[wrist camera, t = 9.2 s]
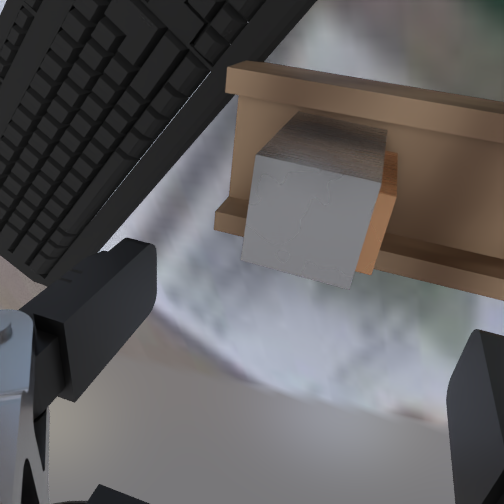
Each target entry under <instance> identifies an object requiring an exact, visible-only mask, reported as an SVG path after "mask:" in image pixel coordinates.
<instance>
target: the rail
mask: <svg viewBox="0 0 504 504" xmlns="http://www.w3.org/2000/svg"><path fill="white" fill-rule="evenodd" d="M225 93H230V94H236V95H239V98H238V109H237V119H236V129H235V139H234V150H233V160H232V170H231V181H230V191H229V197H228V198H227V199H226V200H225V201H224V203H223V204H222V205H221V206H220V207H219V208H218V209H217V210H216V211H215V223H214V230H217V231H221V232H225V233H229V234H233V235H237V236H241V237H244V233H245V226H246V219H247V212H248V205H249V198H250V191H251V184H252V177H253V170H254V163H255V156H256V154H257V153H258V152H259V151H260V150H261V149H262V148H263V147H264V146H265V145H266V144H267V143H268V142H269V141H270V140H271V139H272V138H273V137H274V136H275V135H276V133H277V132H278V131H279V130H280V129H281V128H282V127H283V126H284V125H285V124H286V123H287V122H288V121H289V120H290V119H291V118H292V117H293V116H294V115H295V114H296V113H297V112H298V111H299V112H304V113H309V114H314V115H318V116H323V117H328V118H333V119H338V120H343V121H347V122H352V123H357V124H362V125H367V126H372V127H377V128H381V129H386V130H387V139H386V148H385V151H389V152H394V153H398V166H397V198H396V201H395V204H394V207H393V210H392V213H391V216H390V219H389V222H388V225H387V228H386V232H385V235H384V238H383V241H382V244H381V247H380V250H379V253H378V256H377V259H376V262H375V265H374V268H373V269H376V270H380V271H384V272H388V273H392V274H397V275H401V276H405V277H409V278H413V279H417V280H421V281H425V282H429V283H433V284H437V285H441V286H446V287H450V288H454V289H458V290H462V291H466V292H470V293H474V294H478V295H482V296H486V297H490V298H495V299H499V300H503V301H504V102H499V101H493V100H487V99H481V98H475V97H469V96H463V95H457V94H451V93H445V92H439V91H433V90H427V89H421V88H415V87H409V86H403V85H397V84H391V83H385V82H379V81H373V80H367V79H361V78H355V77H349V76H343V75H337V74H331V73H325V72H319V71H313V70H308V69H302V68H296V67H290V66H284V65H278V64H272V63H266V62H255V61H247V60H246V61H243V62H240V63H237V64H235V65H232V66H229V67H227V77H226V89H225Z"/></svg>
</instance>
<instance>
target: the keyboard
mask: <svg viewBox="0 0 504 504" xmlns="http://www.w3.org/2000/svg"><path fill="white" fill-rule="evenodd" d="M316 1H317V0H7V1H6V3H5V6H4V8H3V10H2V12H1V15H0V255H1V256H2V257H3V258H4V259H6V260H7V261H8V262H10V263H11V264H12V265H13V266H15V267H16V268H17V269H19V270H20V271H21V272H22V273H24V274H25V275H26V276H27V277H29V278H30V279H31V280H33V281H34V282H37V283H40V284H43V285H45V286H47V287H49V286H50V285H51V284H52V283H54V282H55V281H56V280H60V277H61V276H63V275H64V274H65V273H66V272H68V271H71V269H72V268H73V267H74V266H75V265H77V264H78V263H79V262H81V261H82V260H83V259H84V258H86V257H89V256H91V255H94V254H96V253H98V251H99V250H100V249H101V248H102V247H103V246H104V245H105V243H106V242H107V241H108V240H109V239H110V238H111V237H112V235H113V234H114V233H115V232H116V231H117V230H118V228H119V227H120V226H121V225H122V224H123V223H124V222H125V220H126V219H127V218H128V217H129V216H130V215H131V214H132V212H133V211H134V210H135V209H136V208H137V207H138V206H139V204H140V203H141V202H142V201H143V200H144V199H145V197H146V196H147V195H148V194H149V193H150V192H151V191H152V189H153V188H154V187H155V186H156V185H157V184H158V183H159V181H160V180H161V179H162V178H163V177H164V176H165V174H166V173H167V172H168V171H169V170H170V169H171V168H172V166H173V165H174V164H175V163H176V162H177V161H178V160H179V158H180V157H181V156H182V155H183V154H184V153H185V152H186V150H187V149H188V148H189V147H190V146H191V145H192V143H193V142H194V141H195V140H196V139H197V138H198V137H199V135H200V134H201V133H202V132H203V131H204V130H205V129H206V127H207V126H208V125H209V124H210V123H211V122H212V120H213V119H214V118H215V117H216V116H217V115H218V114H219V112H220V111H221V110H222V109H223V108H224V107H225V106H226V104H227V103H228V102H229V101H230V100H231V99H232V98H233V96H234V95H235V94H230V93H225V89H226V77H227V67H229V66H232V65H235V64H237V63H240V62H243V61H246V60H247V61H255V62H264V61H265V60H266V58H267V57H268V56H269V55H270V54H271V53H272V52H273V50H274V49H275V48H276V47H277V46H278V45H279V44H280V42H281V41H282V40H283V39H284V38H285V37H286V35H287V34H288V33H289V32H290V31H291V30H292V29H293V27H294V26H295V25H296V24H297V23H298V22H299V21H300V19H301V18H302V17H303V16H304V15H305V14H306V13H307V11H308V10H309V9H310V8H311V7H312V6H313V4H314V3H315V2H316ZM247 22H249V23H247ZM230 44H231V45H230ZM210 71H211V73H210V74H209V75H208V77H207V78H206V79H205V80H204V82H203V83H202V84H201V85H200V87H199V88H198V89H197V90H196V92H195V93H194V94H193V95H192V97H191V98H190V99H189V100H188V102H187V103H186V104H185V105H184V107H183V108H182V109H181V110H180V111H179V113H178V114H177V115H176V116H175V118H174V119H173V120H172V121H171V123H170V124H169V125H168V126H167V128H166V129H165V130H164V131H163V133H162V134H161V135H160V136H159V138H158V139H157V140H156V141H155V143H154V144H153V145H152V146H151V147H150V145H151V144H152V143H153V142H154V139H156V138H157V137H158V135H159V134H160V133H161V132H162V130H163V129H164V128H165V127H166V125H167V124H168V123H169V122H170V120H171V119H172V118H173V117H174V115H175V114H176V113H177V112H178V110H179V109H180V108H181V107H182V106H183V104H184V103H185V102H186V101H187V99H188V97H190V96H191V94H192V93H193V92H194V91H195V89H196V88H197V87H198V86H199V84H200V83H201V82H202V81H203V79H204V78H205V77H206V76H207V74H208V73H209V72H210ZM149 147H150V149H149V150H148V151H147V152H146V150H147V149H148V148H149ZM145 152H146V154H145V155H144V156H143V157H142V155H143V154H144V153H145ZM141 157H142V159H141V160H140V161H139V162H138V160H139V159H140V158H141ZM137 162H138V164H137V165H136V166H135V167H134V165H135V164H136V163H137ZM133 167H134V169H133V170H132V171H131V172H130V170H131V169H132V168H133ZM129 172H130V174H129V175H128V176H127V177H126V175H127V174H128V173H129ZM125 177H126V179H125V180H124V181H123V182H122V180H123V179H124V178H125ZM121 182H122V184H121V185H120V186H119V184H120V183H121ZM118 186H119V187H118ZM117 187H118V188H117ZM116 188H117V190H116V191H115V189H116ZM114 191H115V192H114ZM113 192H114V193H113ZM112 193H113V195H112ZM111 195H112V196H111ZM110 196H111V197H110ZM109 197H110V198H109ZM108 199H109V200H108ZM107 200H108V201H107ZM106 201H107V202H106ZM105 202H106V203H105ZM104 204H105V205H104ZM103 205H104V206H103ZM102 206H103V207H102ZM100 209H101V210H100ZM99 210H100V211H99ZM96 214H97V215H96ZM95 215H96V216H95ZM92 219H93V220H92Z"/></svg>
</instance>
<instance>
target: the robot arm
mask: <svg viewBox="0 0 504 504" xmlns="http://www.w3.org/2000/svg"><path fill="white" fill-rule="evenodd" d="M156 295H157V253H156V248H155V246H154V245H153V244H150V243H146V242H142V241H138V240H134V239H130V238H125V239H123V240H122V241H121V242H119V243H118V244H117V245H116V246H114V247H113V248H112V249H111V250H110V251H108V252H107V251H101V252H99V253H96V254H94V255H91V256H89V257H86V258H84V259H83V260H82V261H81V262H79V263H78V264H77V265H75V266H74V267H73V268H72V269H71V271H68V272H66V273H65V274H64V275H63V276H61V277H60V280H56V281H55V282H54V283H52V284H51V285H50V286H49V287H47V288H46V289H45V290H43V291H42V292H41V293H40V294H38V295H37V296H36V297H34V298H33V299H32V300H31V301H29V302H28V303H27V304H26V305H24V306H23V307H22V308H20V309H19V310H10V309H4V310H0V504H50V500H49V486H48V474H49V423H50V413H49V405H50V404H51V402H53V400H54V399H55V398H56V397H57V396H58V397H61V398H63V399H67V400H69V401H72V402H76V401H77V399H78V398H79V397H80V396H81V395H82V394H83V392H84V391H85V390H86V389H87V388H88V386H89V385H90V384H91V383H92V382H93V380H94V379H95V378H96V377H97V376H98V375H99V373H100V372H101V371H102V370H103V369H104V367H105V366H106V365H107V364H108V363H109V361H110V360H111V359H112V358H113V357H114V356H115V354H116V353H117V352H118V351H119V350H120V348H121V347H122V346H123V345H124V344H125V342H126V341H127V340H128V339H129V338H130V337H131V335H132V334H133V333H134V332H135V331H136V329H137V328H138V327H139V326H140V325H141V323H142V322H143V321H144V320H145V319H146V318H147V316H148V315H149V314H150V312H151V310H152V308H153V306H154V303H155V300H156ZM446 404H447V416H448V427H449V438H450V449H451V460H452V470H453V481H454V493H455V503H456V504H504V336H502V335H498V334H494V333H490V332H486V331H482V330H479V329H475V330H474V331H473V332H472V333H471V335H470V337H469V339H468V341H467V343H466V346H465V348H464V350H463V352H462V354H461V356H460V359H459V361H458V363H457V365H456V367H455V369H454V371H453V374H452V376H451V378H450V381H449V385H448V390H447V398H446ZM55 504H149V503H147V502H144V501H142V500H139V499H136V498H134V497H131V496H129V495H126V494H124V493H121V492H118V491H116V490H113V489H111V488H108V487H106V486H103V485H100V484H99V485H98V486H97V488H96V489H95V491H94V492H93V494H92V496H91V497H90V499H89V500H88V501H67V502H61V503H55Z"/></svg>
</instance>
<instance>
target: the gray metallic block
mask: <svg viewBox="0 0 504 504" xmlns="http://www.w3.org/2000/svg"><path fill="white" fill-rule="evenodd" d="M386 139H387V130H386V129H381V128H377V127H372V126H367V125H362V124H357V123H352V122H347V121H343V120H338V119H333V118H328V117H323V116H318V115H314V114H309V113H304V112H299V111H298V112H297V113H296V114H295V115H294V116H293V117H292V118H291V119H290V120H289V121H288V122H287V123H286V124H285V125H284V126H283V127H282V128H281V129H280V130H279V131H278V132H277V133H276V135H275V136H274V137H273V138H272V139H271V140H270V141H269V142H268V143H267V144H266V145H265V146H264V147H263V148H262V149H261V150H260V151H259V152H258V153H257V154H256V156H255V163H254V170H253V177H252V184H251V191H250V198H249V205H248V212H247V219H246V226H245V233H244V240H243V247H242V254H241V260H242V261H245V262H249V263H253V264H256V265H260V266H264V267H267V268H271V269H275V270H278V271H282V272H286V273H289V274H293V275H297V276H300V277H304V278H308V279H311V280H315V281H319V282H322V283H326V284H330V285H333V286H337V287H341V288H344V289H348V290H349V289H350V286H351V283H352V279H353V276H354V273H355V271H357V272H360V273H364V274H368V275H371V274H372V271H373V268H374V265H375V262H376V259H377V256H378V253H379V250H380V247H381V244H382V241H383V238H384V235H385V232H386V228H387V225H388V222H389V219H390V216H391V213H392V210H393V207H394V204H395V201H396V198H397V166H398V153H394V152H389V151H385V148H386Z"/></svg>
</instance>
